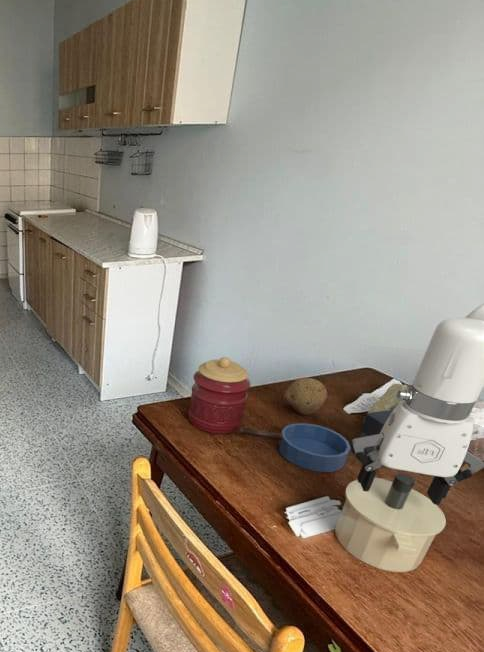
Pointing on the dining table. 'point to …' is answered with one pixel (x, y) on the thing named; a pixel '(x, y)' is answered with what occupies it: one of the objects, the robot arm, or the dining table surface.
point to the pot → (379, 543)
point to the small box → (373, 426)
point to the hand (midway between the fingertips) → (397, 492)
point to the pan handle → (260, 433)
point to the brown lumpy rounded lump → (306, 395)
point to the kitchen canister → (218, 396)
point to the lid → (396, 507)
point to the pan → (314, 447)
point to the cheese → (388, 399)
